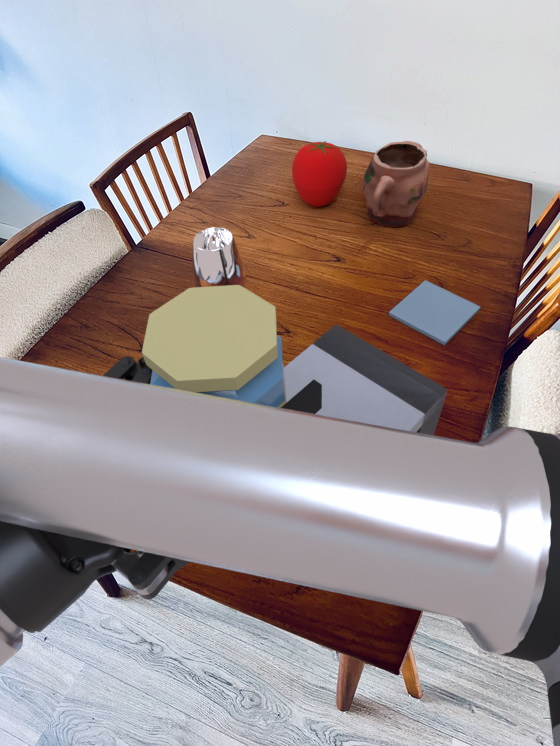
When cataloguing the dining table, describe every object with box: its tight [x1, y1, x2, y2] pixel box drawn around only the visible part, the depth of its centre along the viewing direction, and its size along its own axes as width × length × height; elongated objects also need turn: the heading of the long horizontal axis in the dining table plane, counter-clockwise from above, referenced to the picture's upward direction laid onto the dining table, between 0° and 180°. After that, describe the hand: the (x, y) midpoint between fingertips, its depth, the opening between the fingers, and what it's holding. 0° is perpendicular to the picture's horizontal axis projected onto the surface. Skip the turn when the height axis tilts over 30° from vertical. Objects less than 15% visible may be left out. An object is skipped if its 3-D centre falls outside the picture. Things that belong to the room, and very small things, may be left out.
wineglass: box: [192, 226, 247, 289], centre depth 80 cm, size 8×8×20 cm
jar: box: [141, 285, 286, 408], centre depth 37 cm, size 9×9×15 cm
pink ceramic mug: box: [362, 140, 431, 228], centre depth 102 cm, size 20×12×14 cm, turn 155°
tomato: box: [291, 140, 348, 208], centre depth 108 cm, size 11×11×13 cm
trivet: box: [388, 279, 481, 346], centre depth 88 cm, size 11×11×1 cm
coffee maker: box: [284, 324, 448, 436], centre depth 59 cm, size 14×14×22 cm
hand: (271, 362), depth 39 cm, fingers closed on jar, 8 cm apart
